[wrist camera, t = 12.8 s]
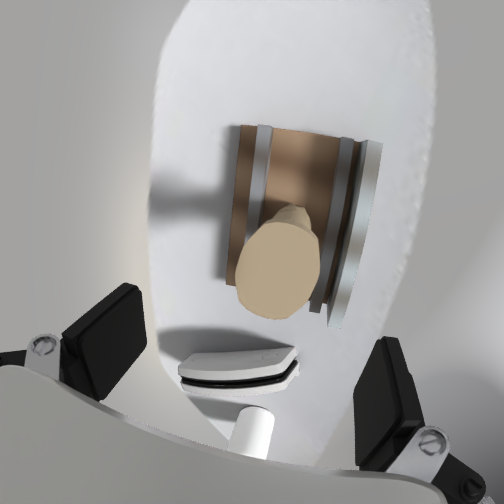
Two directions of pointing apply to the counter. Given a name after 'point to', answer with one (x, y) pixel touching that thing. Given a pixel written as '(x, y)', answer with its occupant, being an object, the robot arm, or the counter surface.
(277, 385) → the grey curved slotted block
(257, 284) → the handle
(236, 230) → the track
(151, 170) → the counter surface
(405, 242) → the counter surface
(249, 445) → the can
